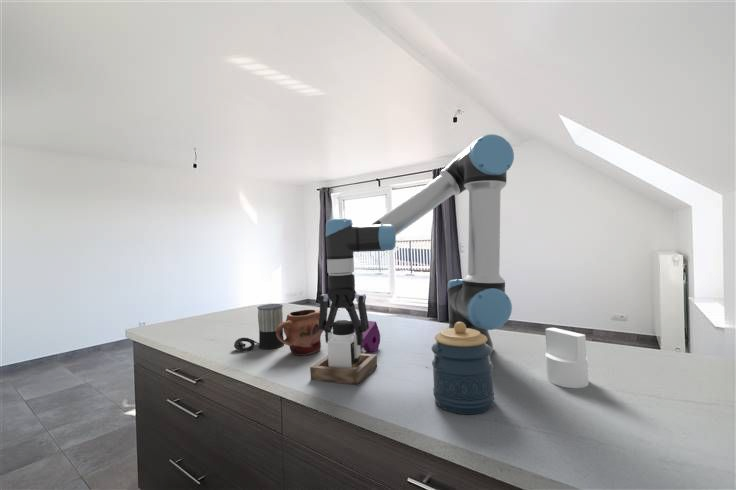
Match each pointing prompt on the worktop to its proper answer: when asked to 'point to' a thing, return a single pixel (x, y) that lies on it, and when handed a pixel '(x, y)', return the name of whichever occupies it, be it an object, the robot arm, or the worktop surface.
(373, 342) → the mounting bracket
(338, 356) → the medicine bottle
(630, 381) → the worktop surface
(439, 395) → the canister
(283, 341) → the terracotta mug
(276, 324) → the milk frother
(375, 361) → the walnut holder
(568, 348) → the base with upright slab
